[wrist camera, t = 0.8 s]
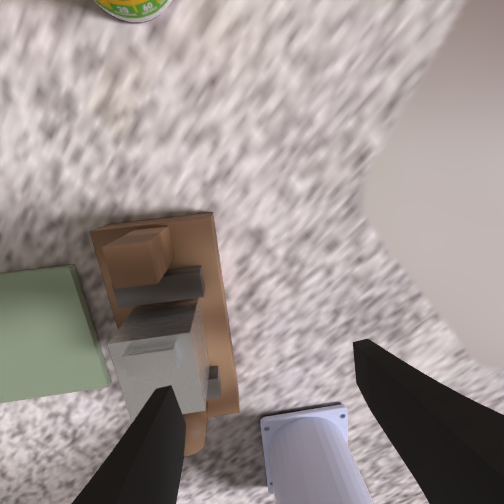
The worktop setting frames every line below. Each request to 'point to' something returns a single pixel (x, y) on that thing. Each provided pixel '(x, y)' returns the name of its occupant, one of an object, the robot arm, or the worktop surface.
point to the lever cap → (162, 354)
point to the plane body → (174, 293)
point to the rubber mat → (47, 336)
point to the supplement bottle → (134, 9)
